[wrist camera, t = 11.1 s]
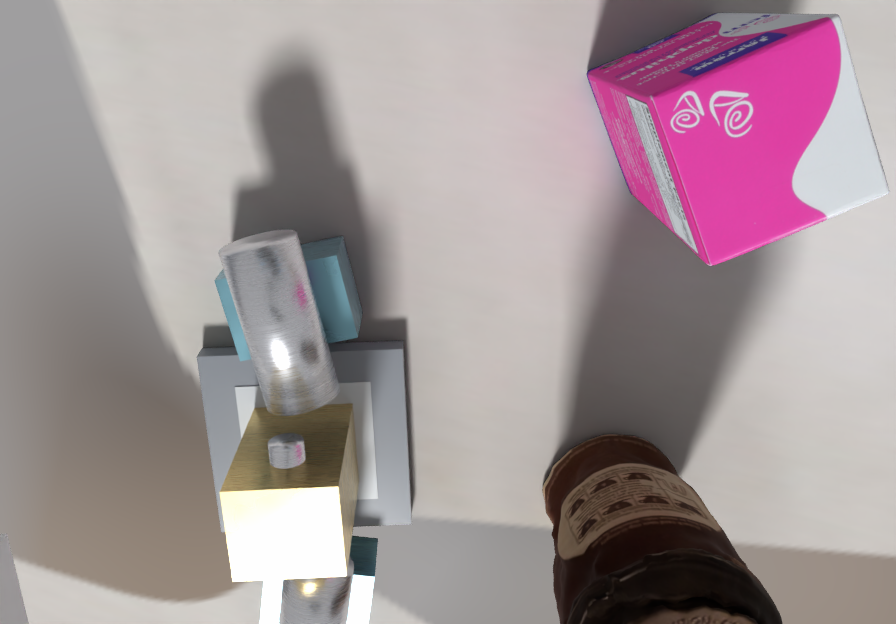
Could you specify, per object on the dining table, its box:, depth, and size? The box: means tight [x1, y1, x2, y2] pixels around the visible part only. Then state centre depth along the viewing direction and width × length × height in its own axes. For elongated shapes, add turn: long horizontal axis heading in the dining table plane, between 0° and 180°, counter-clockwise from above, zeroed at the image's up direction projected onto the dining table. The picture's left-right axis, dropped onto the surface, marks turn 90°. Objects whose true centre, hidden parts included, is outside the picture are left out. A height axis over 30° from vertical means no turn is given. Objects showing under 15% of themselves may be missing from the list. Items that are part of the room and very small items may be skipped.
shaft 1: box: [215, 229, 363, 416], centre depth 35 cm, size 7×5×6 cm
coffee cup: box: [542, 434, 782, 624], centre depth 35 cm, size 9×8×13 cm
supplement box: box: [587, 13, 889, 266], centre depth 30 cm, size 6×6×12 cm
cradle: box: [197, 341, 412, 532], centre depth 40 cm, size 9×9×1 cm
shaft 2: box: [260, 536, 378, 624], centre depth 40 cm, size 7×5×6 cm
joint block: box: [220, 403, 359, 582], centre depth 36 cm, size 6×4×7 cm
